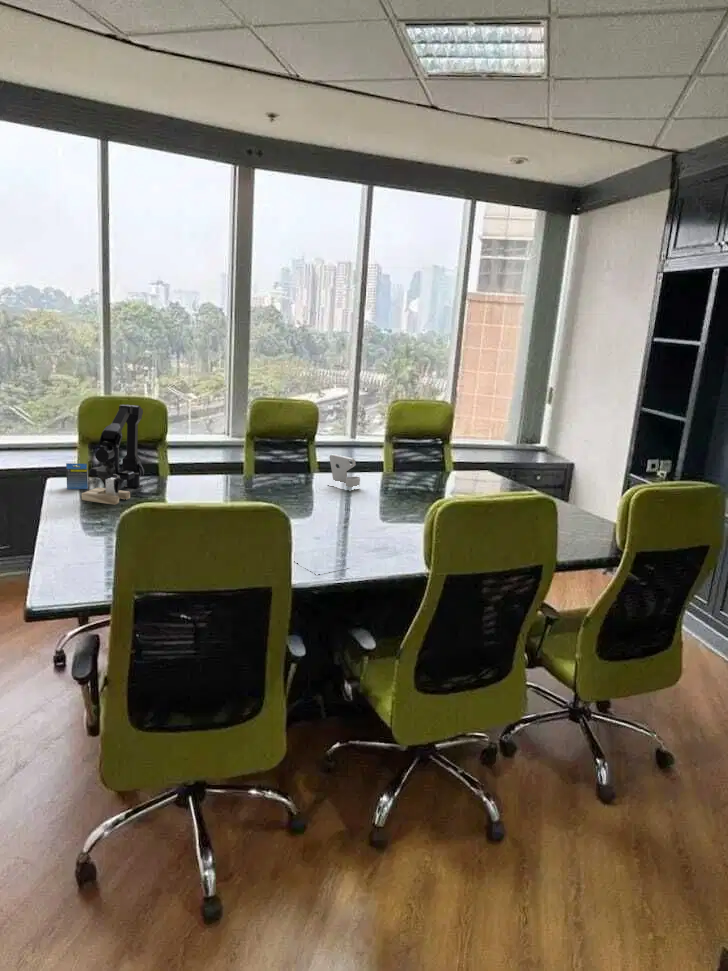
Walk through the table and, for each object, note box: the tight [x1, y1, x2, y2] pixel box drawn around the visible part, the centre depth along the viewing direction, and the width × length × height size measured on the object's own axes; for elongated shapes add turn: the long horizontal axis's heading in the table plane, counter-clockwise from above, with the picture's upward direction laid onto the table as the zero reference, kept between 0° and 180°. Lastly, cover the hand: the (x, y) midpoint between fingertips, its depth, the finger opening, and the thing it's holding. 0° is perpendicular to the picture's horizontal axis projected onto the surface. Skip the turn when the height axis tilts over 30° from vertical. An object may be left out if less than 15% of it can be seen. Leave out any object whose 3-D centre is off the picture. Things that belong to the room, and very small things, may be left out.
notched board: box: [81, 487, 131, 505], centre depth 267 cm, size 12×16×3 cm
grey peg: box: [105, 477, 119, 496], centre depth 265 cm, size 4×4×8 cm
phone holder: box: [329, 453, 361, 487], centre depth 325 cm, size 17×10×18 cm, turn 55°
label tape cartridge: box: [65, 462, 89, 490], centre depth 278 cm, size 9×4×12 cm, turn 108°
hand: (112, 492), depth 266 cm, fingers closed on grey peg, 4 cm apart
